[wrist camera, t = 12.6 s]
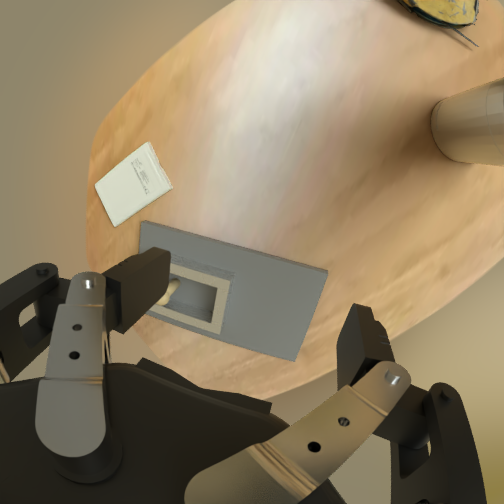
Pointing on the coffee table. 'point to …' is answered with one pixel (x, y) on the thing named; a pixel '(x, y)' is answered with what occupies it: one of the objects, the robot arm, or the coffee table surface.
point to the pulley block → (445, 12)
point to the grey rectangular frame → (206, 276)
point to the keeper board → (243, 291)
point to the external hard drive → (132, 184)
